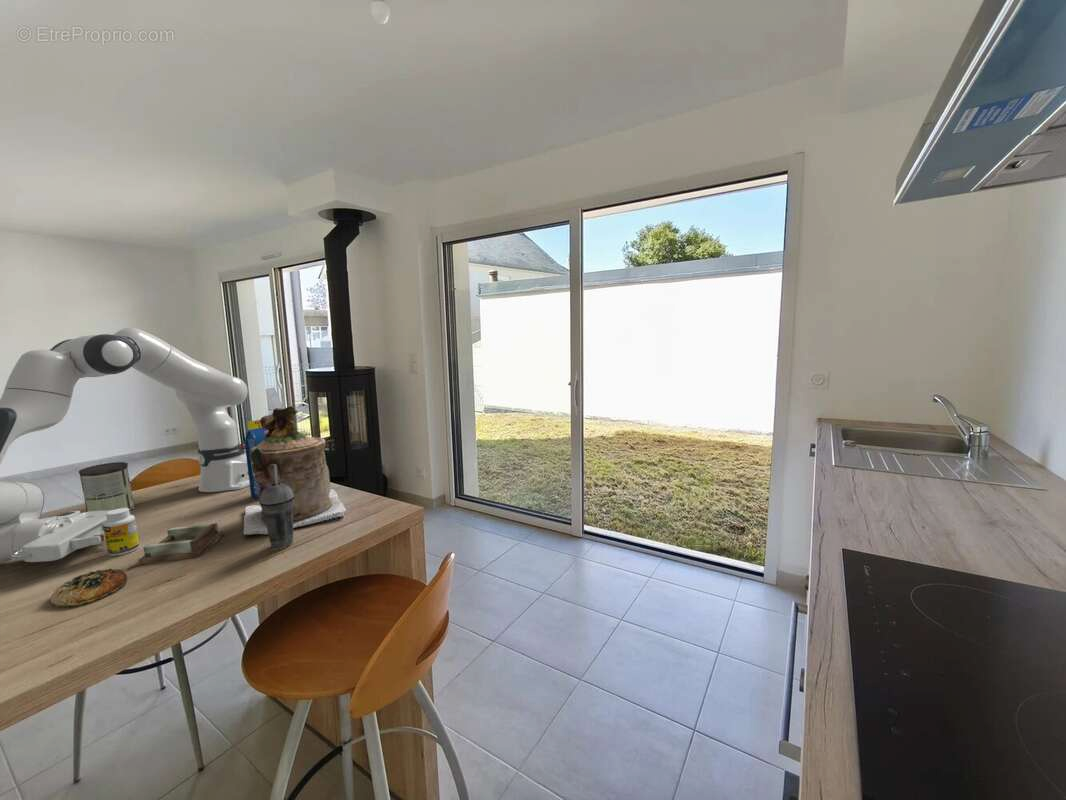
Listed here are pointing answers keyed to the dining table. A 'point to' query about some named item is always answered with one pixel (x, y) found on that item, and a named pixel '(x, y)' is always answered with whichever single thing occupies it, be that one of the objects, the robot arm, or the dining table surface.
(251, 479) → the blue food package
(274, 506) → the beverage cup
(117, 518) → the supplement bottle
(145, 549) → the clip cradle
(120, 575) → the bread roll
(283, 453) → the cookie jar
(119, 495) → the coffee can
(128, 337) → the robot arm
